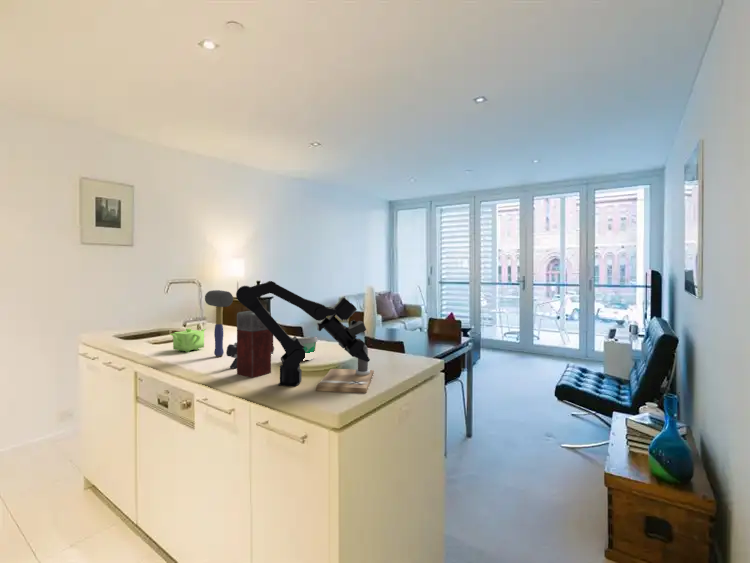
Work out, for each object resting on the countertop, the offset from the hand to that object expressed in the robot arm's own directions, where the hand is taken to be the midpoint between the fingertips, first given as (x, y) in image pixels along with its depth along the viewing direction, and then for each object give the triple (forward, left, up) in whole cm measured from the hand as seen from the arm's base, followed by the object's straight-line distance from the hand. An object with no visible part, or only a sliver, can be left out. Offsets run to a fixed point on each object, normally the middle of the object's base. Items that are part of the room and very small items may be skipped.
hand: (366, 359), depth 143 cm
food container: (-30, +24, -7) cm, 39 cm away
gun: (-50, +15, -7) cm, 53 cm away
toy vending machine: (-42, +1, -7) cm, 43 cm away
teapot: (-91, +37, -7) cm, 99 cm away
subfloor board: (-6, -7, -7) cm, 11 cm away
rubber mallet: (-70, +26, -7) cm, 75 cm away
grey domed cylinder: (-1, -1, -5) cm, 5 cm away
